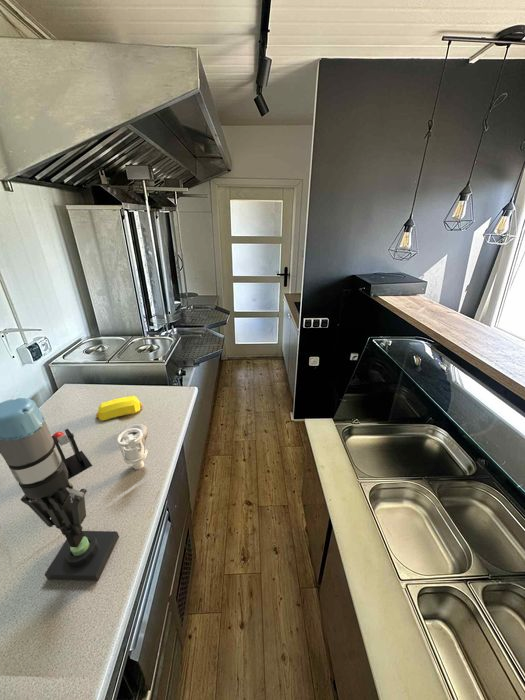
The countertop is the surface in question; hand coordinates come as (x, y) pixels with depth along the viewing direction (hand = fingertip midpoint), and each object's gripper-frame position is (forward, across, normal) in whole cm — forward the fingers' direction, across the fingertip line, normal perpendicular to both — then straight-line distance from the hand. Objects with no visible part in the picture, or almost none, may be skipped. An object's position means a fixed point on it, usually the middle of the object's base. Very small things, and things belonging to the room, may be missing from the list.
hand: (77, 541), depth 67 cm
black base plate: (+7, 0, 0) cm, 7 cm away
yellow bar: (+7, +18, -55) cm, 58 cm away
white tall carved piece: (+7, -2, -27) cm, 28 cm away
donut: (+7, +6, -41) cm, 42 cm away
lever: (-2, +23, -30) cm, 38 cm away
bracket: (+6, +20, -27) cm, 34 cm away
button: (+3, 0, 0) cm, 3 cm away
